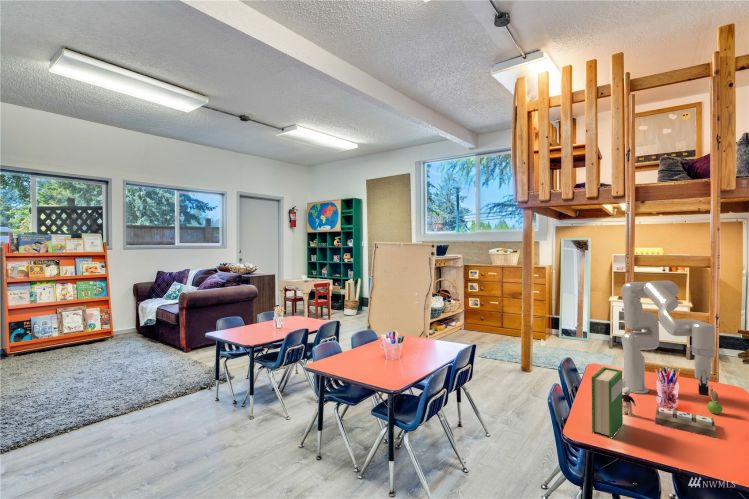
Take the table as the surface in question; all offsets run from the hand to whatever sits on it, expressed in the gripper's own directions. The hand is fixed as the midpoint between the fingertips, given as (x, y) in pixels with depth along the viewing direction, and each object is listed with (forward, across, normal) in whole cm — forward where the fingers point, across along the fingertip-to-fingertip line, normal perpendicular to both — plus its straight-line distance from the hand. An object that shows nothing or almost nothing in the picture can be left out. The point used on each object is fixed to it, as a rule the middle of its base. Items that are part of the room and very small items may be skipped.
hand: (703, 394), depth 163 cm
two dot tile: (+13, 0, -13) cm, 18 cm away
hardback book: (+15, +24, -32) cm, 43 cm away
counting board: (+15, 0, -6) cm, 16 cm away
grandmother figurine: (+15, +3, -28) cm, 32 cm away
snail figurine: (+15, -23, +4) cm, 28 cm away
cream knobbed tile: (+13, 0, 0) cm, 13 cm away
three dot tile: (+13, 0, -6) cm, 15 cm away
